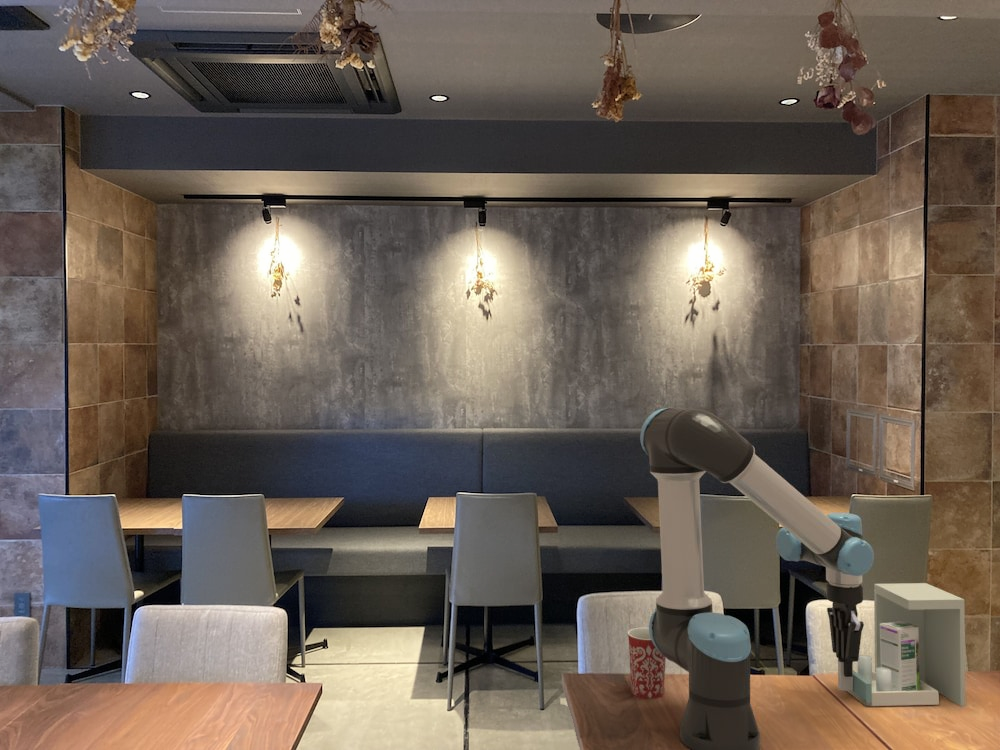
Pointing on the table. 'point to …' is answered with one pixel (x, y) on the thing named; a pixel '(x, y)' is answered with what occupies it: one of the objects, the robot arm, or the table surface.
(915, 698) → the tray
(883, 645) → the syrup box
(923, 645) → the white open shelf
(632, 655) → the mug
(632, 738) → the table surface
